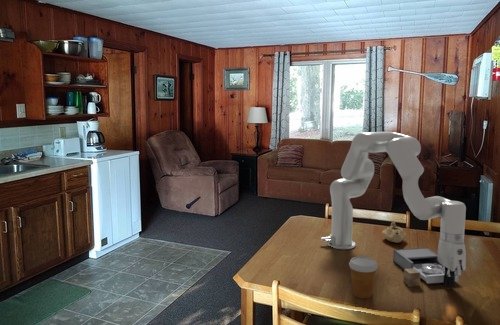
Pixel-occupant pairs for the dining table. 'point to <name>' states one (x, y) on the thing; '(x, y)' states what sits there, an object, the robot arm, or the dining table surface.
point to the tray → (432, 278)
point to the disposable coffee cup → (363, 275)
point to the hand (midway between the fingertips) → (448, 285)
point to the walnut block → (412, 277)
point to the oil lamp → (394, 233)
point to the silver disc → (430, 269)
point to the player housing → (414, 257)
